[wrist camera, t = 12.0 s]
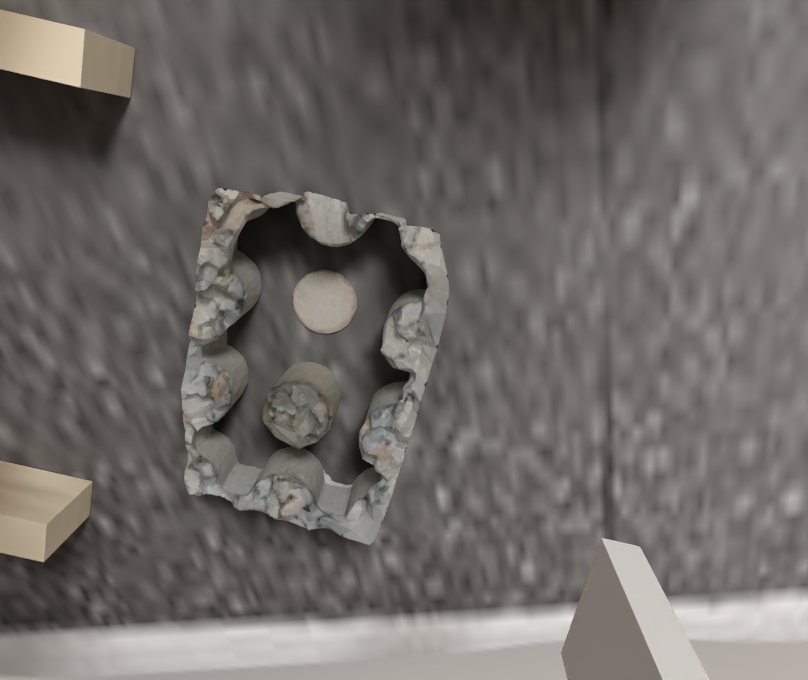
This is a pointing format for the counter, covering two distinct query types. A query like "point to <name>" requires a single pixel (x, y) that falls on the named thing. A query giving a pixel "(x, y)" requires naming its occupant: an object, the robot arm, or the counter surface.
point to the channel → (96, 70)
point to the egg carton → (304, 370)
